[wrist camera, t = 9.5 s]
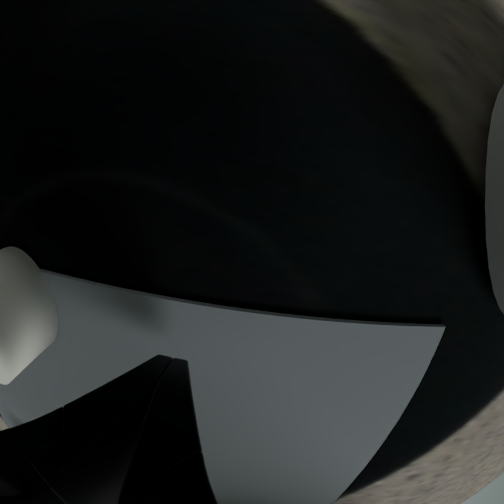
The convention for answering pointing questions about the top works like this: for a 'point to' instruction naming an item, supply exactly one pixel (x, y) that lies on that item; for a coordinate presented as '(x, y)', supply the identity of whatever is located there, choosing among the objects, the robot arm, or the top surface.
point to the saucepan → (496, 199)
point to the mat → (240, 383)
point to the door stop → (23, 313)
